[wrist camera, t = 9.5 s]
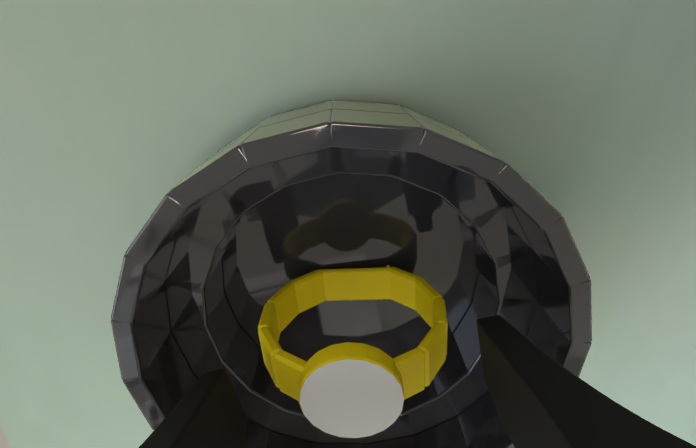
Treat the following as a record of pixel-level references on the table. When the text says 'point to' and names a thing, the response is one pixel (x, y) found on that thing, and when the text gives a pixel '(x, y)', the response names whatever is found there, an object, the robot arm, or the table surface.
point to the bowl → (346, 252)
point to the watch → (353, 351)
